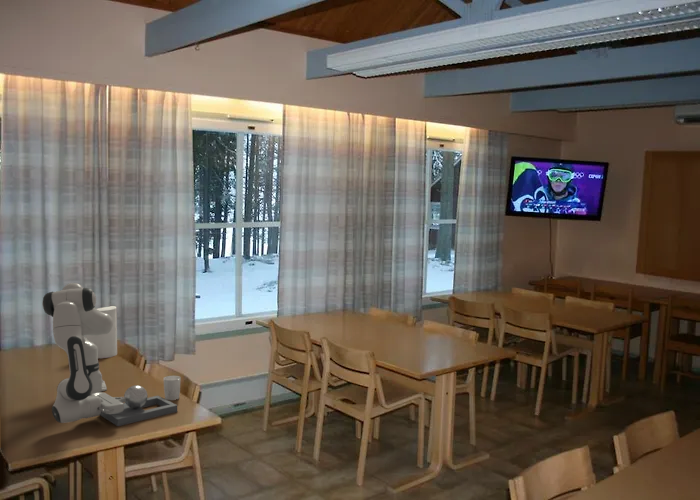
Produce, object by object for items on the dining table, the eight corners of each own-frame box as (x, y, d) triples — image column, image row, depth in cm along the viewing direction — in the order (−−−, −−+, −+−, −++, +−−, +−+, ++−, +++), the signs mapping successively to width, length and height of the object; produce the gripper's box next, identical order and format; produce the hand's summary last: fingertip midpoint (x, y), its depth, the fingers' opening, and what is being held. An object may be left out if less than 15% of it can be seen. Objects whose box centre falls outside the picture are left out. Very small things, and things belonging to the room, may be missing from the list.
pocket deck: (117, 426, 284) (117, 419, 284) (99, 415, 297) (99, 408, 297) (177, 411, 303) (177, 405, 303) (158, 401, 316) (157, 395, 316)
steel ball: (117, 396, 300) (136, 382, 305) (131, 414, 300) (149, 400, 305) (120, 392, 291) (140, 379, 297) (134, 411, 291) (153, 397, 297)
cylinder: (123, 353, 401) (122, 307, 398) (98, 359, 386) (98, 311, 383) (104, 349, 410) (103, 304, 407) (79, 355, 395) (78, 308, 392)
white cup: (160, 397, 322) (160, 377, 321) (176, 394, 327) (176, 374, 326) (168, 401, 316) (167, 381, 315) (183, 398, 321) (183, 378, 320)
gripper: (103, 405, 277) (135, 398, 287) (83, 393, 292) (114, 386, 302) (103, 419, 278) (135, 412, 288) (83, 407, 293) (114, 400, 302)
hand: (124, 399), depth 295 cm, fingers closed
